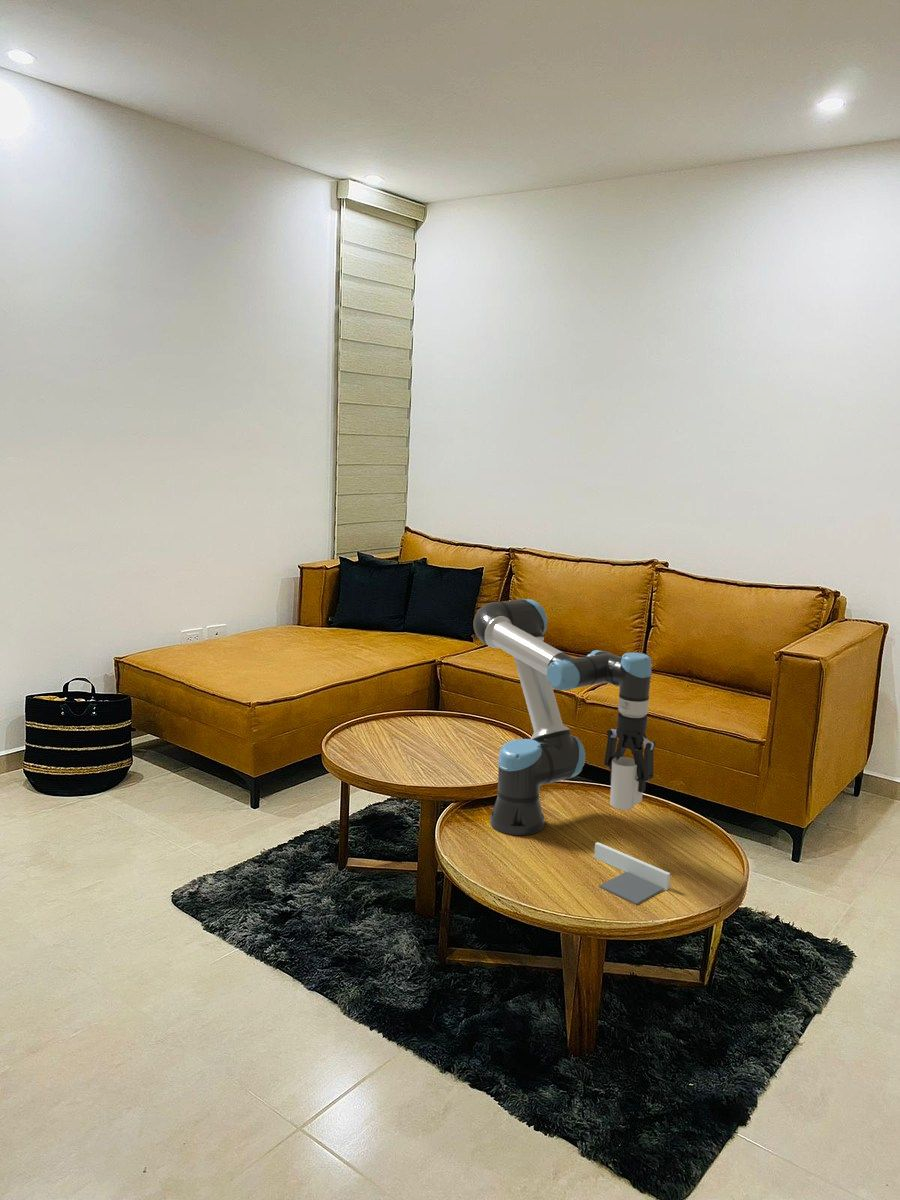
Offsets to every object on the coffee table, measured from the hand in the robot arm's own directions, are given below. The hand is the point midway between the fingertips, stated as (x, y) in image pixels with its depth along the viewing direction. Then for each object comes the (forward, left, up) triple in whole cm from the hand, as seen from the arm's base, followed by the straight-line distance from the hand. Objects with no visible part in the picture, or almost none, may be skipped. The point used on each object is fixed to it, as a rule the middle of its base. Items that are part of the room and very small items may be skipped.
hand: (626, 797), depth 233 cm
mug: (0, 0, -2) cm, 2 cm away
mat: (+13, -15, -15) cm, 25 cm away
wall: (+8, -8, -15) cm, 19 cm away
